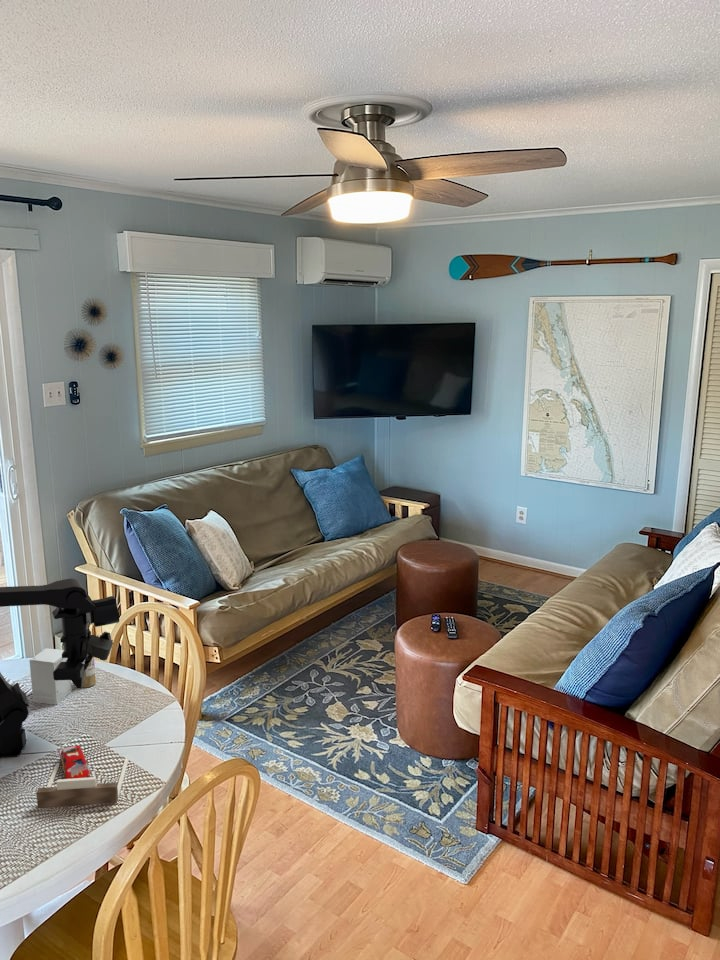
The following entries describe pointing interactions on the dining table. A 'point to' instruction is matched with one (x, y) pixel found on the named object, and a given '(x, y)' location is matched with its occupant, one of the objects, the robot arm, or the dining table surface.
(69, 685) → the supplement box
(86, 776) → the race car
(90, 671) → the sprinkles bottle
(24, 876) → the dining table surface
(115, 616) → the robot arm
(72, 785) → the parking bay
